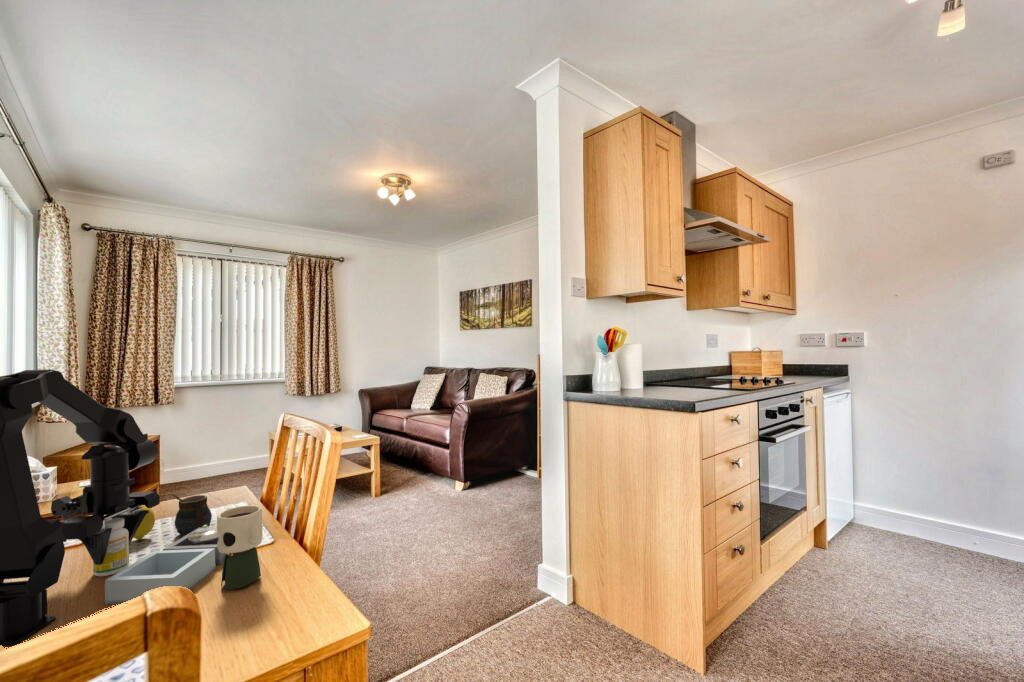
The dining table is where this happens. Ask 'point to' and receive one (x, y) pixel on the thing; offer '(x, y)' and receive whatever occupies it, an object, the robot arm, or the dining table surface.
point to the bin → (160, 573)
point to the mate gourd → (192, 514)
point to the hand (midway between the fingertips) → (111, 557)
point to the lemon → (145, 524)
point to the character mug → (240, 544)
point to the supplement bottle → (114, 549)
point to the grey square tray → (197, 547)
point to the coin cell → (204, 535)
